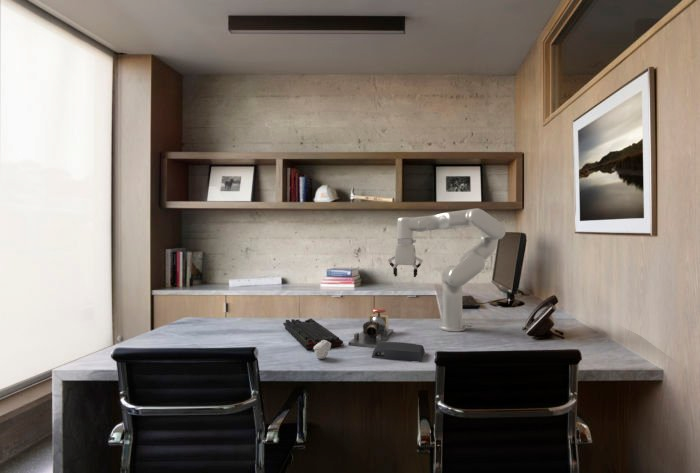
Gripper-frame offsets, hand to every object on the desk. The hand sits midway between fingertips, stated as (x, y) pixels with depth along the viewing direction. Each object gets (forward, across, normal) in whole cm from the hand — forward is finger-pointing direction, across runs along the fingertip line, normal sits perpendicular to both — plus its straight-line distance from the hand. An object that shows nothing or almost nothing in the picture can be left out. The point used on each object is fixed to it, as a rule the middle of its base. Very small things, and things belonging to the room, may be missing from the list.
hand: (405, 276), depth 197 cm
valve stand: (+26, +11, +21) cm, 35 cm away
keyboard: (+27, +39, +28) cm, 55 cm away
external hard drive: (+27, -6, +41) cm, 50 cm away
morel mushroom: (+24, +10, +24) cm, 36 cm away
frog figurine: (+26, +21, +55) cm, 65 cm away
